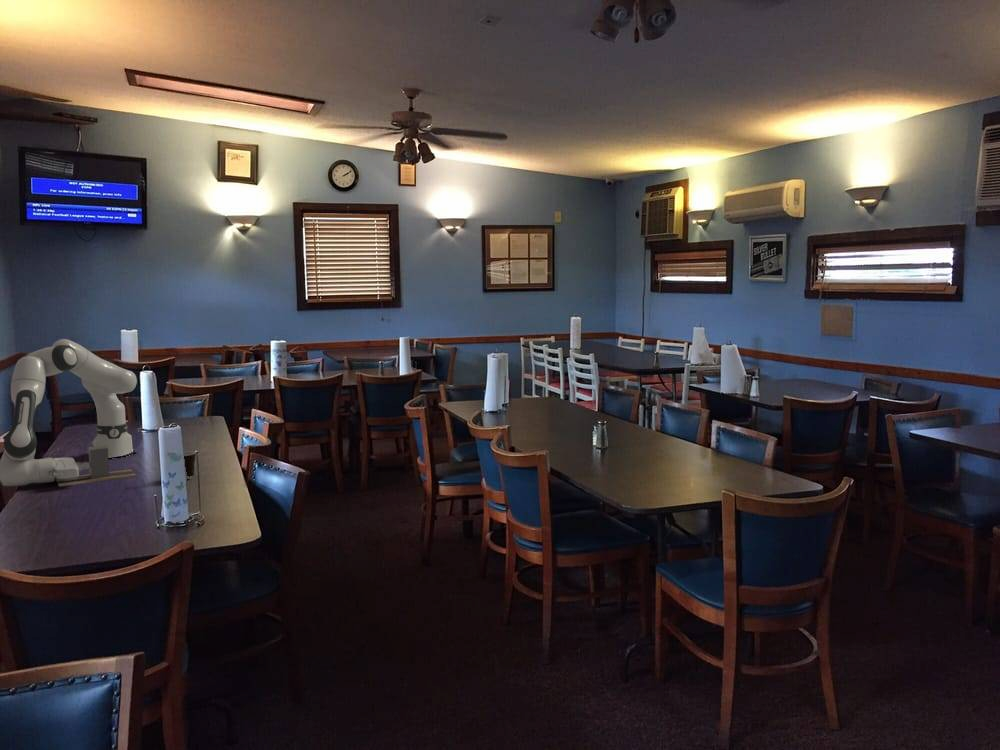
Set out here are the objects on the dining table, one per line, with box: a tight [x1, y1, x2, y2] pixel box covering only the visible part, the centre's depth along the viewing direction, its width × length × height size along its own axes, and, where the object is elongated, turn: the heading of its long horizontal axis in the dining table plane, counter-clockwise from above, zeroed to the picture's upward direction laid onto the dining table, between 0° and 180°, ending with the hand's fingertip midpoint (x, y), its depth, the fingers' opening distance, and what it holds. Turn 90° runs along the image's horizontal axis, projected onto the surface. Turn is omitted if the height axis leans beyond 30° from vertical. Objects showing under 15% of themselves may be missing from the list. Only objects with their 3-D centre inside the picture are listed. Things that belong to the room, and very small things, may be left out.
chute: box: [55, 469, 137, 487], centre depth 292 cm, size 10×26×2 cm, turn 124°
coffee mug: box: [183, 450, 197, 477], centre depth 299 cm, size 12×9×10 cm
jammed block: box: [87, 445, 111, 479], centre depth 292 cm, size 6×6×12 cm
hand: (90, 465), depth 291 cm, fingers closed, pressing on jammed block
